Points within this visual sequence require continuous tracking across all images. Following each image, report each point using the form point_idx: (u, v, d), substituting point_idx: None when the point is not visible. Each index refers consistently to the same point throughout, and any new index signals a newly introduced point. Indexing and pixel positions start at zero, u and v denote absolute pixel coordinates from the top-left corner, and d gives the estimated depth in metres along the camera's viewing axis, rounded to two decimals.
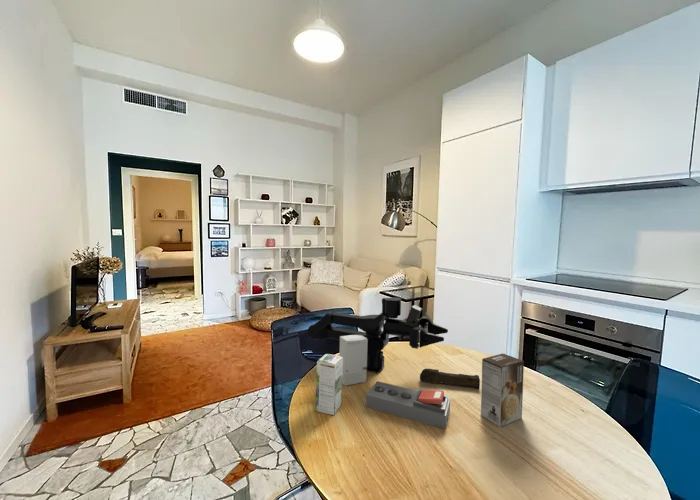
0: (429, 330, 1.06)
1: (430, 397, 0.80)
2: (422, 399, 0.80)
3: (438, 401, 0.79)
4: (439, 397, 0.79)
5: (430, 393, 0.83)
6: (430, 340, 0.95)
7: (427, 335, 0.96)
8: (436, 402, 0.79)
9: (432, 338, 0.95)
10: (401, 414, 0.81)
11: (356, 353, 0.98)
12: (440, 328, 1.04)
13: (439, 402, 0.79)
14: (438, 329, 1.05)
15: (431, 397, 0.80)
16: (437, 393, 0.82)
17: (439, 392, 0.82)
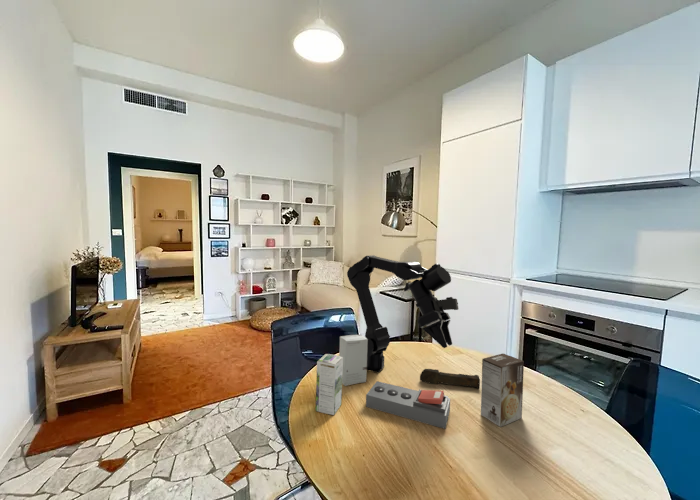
0: None
1: (430, 397, 0.80)
2: (422, 399, 0.80)
3: (438, 401, 0.79)
4: (439, 397, 0.79)
5: (430, 393, 0.83)
6: (435, 335, 0.84)
7: (439, 329, 0.84)
8: (436, 402, 0.79)
9: (439, 336, 0.84)
10: (401, 414, 0.81)
11: (356, 353, 0.98)
12: (448, 336, 0.92)
13: (439, 402, 0.79)
14: (446, 335, 0.93)
15: (431, 397, 0.80)
16: (437, 393, 0.82)
17: (439, 392, 0.82)
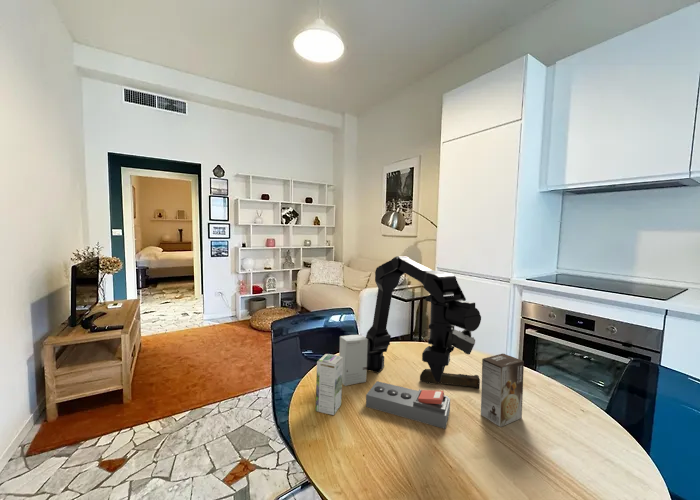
0: None
1: (430, 397, 0.80)
2: (422, 399, 0.80)
3: (438, 401, 0.79)
4: (439, 397, 0.79)
5: (430, 393, 0.83)
6: (434, 368, 0.77)
7: (440, 366, 0.76)
8: (436, 402, 0.79)
9: (437, 371, 0.77)
10: (401, 414, 0.81)
11: (357, 353, 0.98)
12: None
13: (439, 402, 0.79)
14: None
15: (431, 397, 0.80)
16: (437, 393, 0.82)
17: (439, 392, 0.82)
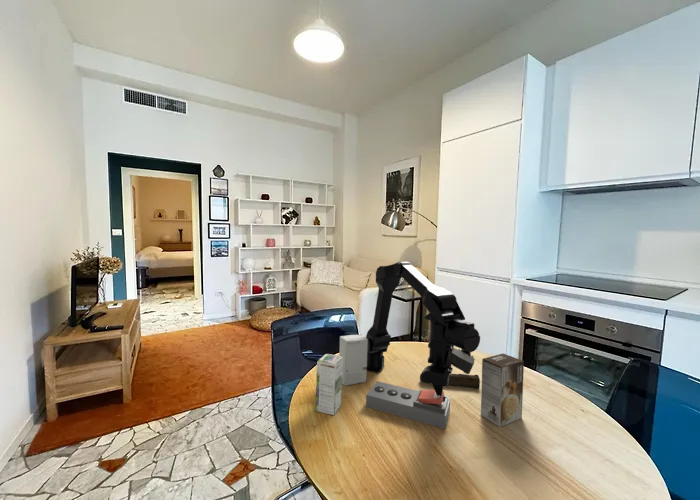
0: None
1: (430, 397, 0.80)
2: (422, 399, 0.80)
3: (438, 401, 0.79)
4: (439, 397, 0.79)
5: (430, 393, 0.83)
6: None
7: None
8: (436, 402, 0.79)
9: (438, 385, 0.80)
10: (401, 414, 0.81)
11: (356, 353, 0.98)
12: None
13: (439, 402, 0.79)
14: None
15: (431, 397, 0.80)
16: None
17: None
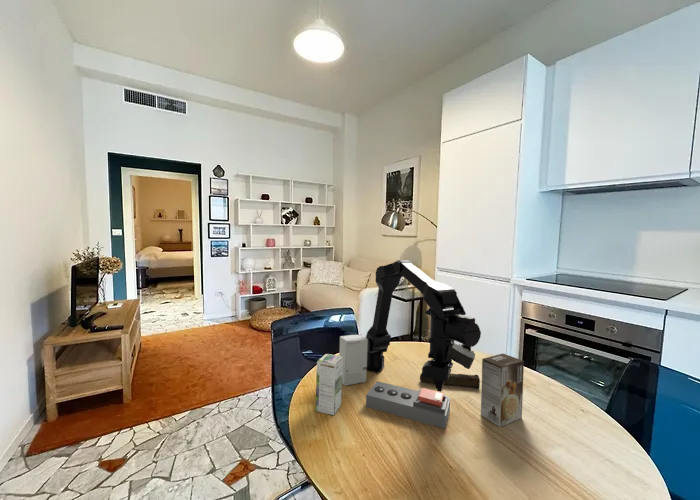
0: None
1: (431, 397, 0.80)
2: (422, 397, 0.80)
3: (438, 403, 0.79)
4: (440, 399, 0.79)
5: (430, 392, 0.83)
6: None
7: None
8: (435, 404, 0.79)
9: (439, 380, 0.79)
10: (401, 414, 0.81)
11: (356, 353, 0.98)
12: None
13: (439, 404, 0.79)
14: None
15: (432, 397, 0.80)
16: (438, 394, 0.82)
17: (440, 394, 0.82)
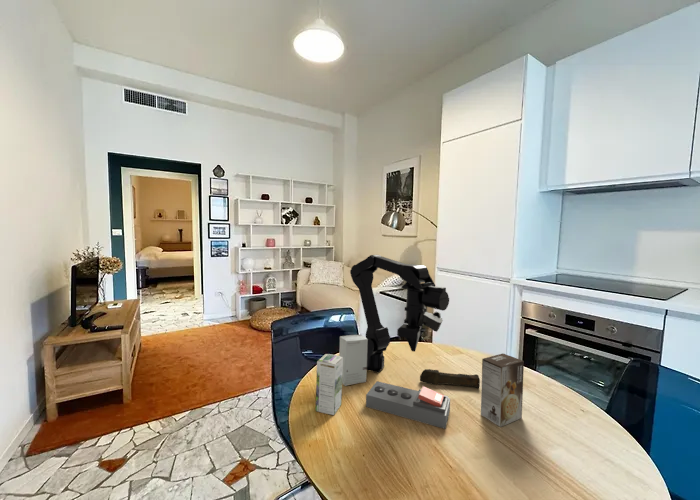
0: None
1: (431, 397, 0.80)
2: (423, 396, 0.80)
3: (438, 405, 0.79)
4: (440, 401, 0.79)
5: (431, 392, 0.83)
6: (410, 340, 0.96)
7: None
8: (435, 405, 0.79)
9: (412, 342, 0.96)
10: (401, 414, 0.81)
11: (356, 353, 0.98)
12: None
13: (439, 406, 0.79)
14: None
15: (432, 398, 0.80)
16: (438, 395, 0.82)
17: (440, 395, 0.82)
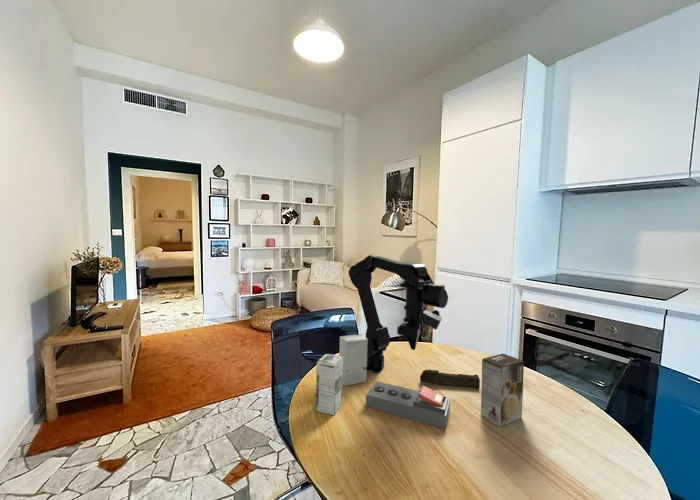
0: None
1: (431, 398, 0.80)
2: (423, 396, 0.80)
3: (438, 405, 0.79)
4: (440, 402, 0.79)
5: (431, 392, 0.83)
6: (410, 338, 0.97)
7: (415, 336, 0.96)
8: (435, 405, 0.79)
9: (412, 340, 0.96)
10: (401, 414, 0.81)
11: (356, 353, 0.98)
12: None
13: (438, 406, 0.79)
14: None
15: (432, 398, 0.80)
16: (438, 396, 0.82)
17: (440, 396, 0.82)
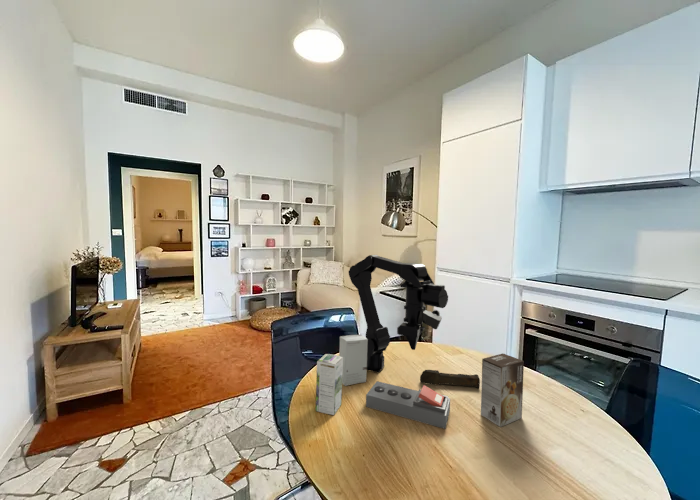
0: None
1: (431, 398, 0.80)
2: (423, 396, 0.80)
3: (438, 406, 0.79)
4: (440, 402, 0.79)
5: (431, 392, 0.83)
6: (410, 338, 0.97)
7: (415, 336, 0.96)
8: (434, 405, 0.79)
9: (412, 340, 0.96)
10: (401, 414, 0.81)
11: (356, 353, 0.98)
12: None
13: None
14: None
15: (432, 398, 0.80)
16: (438, 396, 0.82)
17: (440, 396, 0.82)
